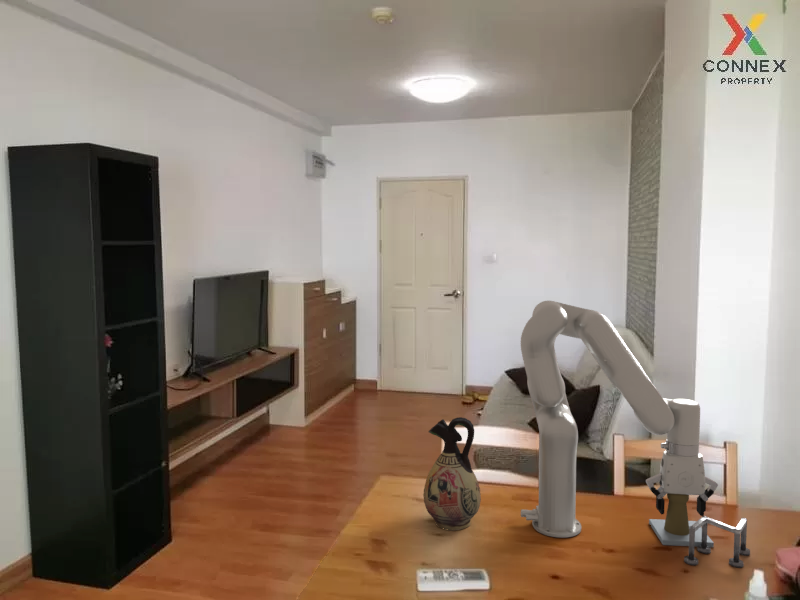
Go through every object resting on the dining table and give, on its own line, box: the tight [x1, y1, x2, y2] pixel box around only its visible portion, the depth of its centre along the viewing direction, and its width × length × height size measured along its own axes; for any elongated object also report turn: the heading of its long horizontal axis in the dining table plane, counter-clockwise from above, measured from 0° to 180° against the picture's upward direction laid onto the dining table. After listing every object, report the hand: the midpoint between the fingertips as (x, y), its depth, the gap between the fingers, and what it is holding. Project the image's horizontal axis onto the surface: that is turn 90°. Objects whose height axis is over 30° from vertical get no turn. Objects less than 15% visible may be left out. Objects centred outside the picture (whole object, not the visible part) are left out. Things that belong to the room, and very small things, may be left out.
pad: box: [648, 518, 715, 548], centre depth 155 cm, size 12×12×1 cm
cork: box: [664, 493, 690, 536], centre depth 155 cm, size 6×6×11 cm
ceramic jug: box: [422, 416, 482, 531], centre depth 161 cm, size 17×15×30 cm
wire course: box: [683, 515, 751, 569], centre depth 144 cm, size 17×9×9 cm, turn 83°
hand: (680, 513), depth 155 cm, fingers open, 9 cm apart
